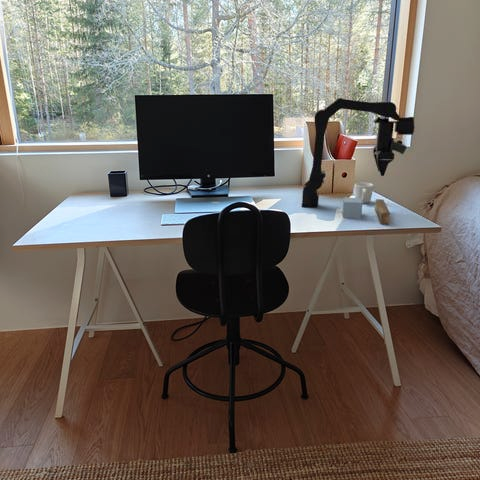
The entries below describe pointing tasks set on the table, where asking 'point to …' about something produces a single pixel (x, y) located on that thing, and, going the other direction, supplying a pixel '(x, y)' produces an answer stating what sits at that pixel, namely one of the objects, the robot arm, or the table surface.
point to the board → (382, 212)
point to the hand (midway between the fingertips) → (381, 173)
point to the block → (352, 208)
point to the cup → (364, 191)
